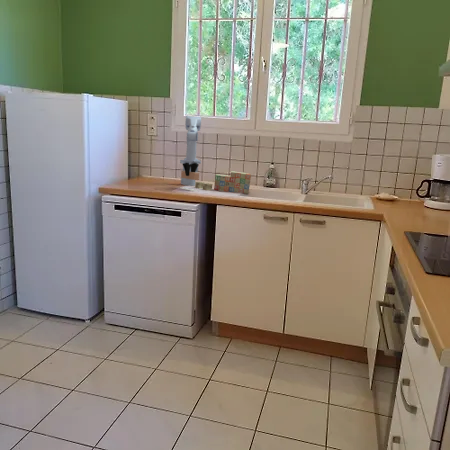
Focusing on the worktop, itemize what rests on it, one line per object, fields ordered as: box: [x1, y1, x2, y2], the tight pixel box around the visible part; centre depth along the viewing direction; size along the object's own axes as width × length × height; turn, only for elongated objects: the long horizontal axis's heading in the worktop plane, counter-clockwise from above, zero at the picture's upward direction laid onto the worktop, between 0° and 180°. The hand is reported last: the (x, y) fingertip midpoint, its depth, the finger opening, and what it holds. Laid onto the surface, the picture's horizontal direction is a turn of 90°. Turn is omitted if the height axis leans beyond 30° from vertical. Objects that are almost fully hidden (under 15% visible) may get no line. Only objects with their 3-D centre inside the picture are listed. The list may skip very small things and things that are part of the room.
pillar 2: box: [202, 182, 213, 191], centre depth 264 cm, size 4×4×4 cm
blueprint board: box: [180, 186, 204, 192], centre depth 264 cm, size 16×24×1 cm, turn 136°
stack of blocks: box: [213, 170, 252, 195], centre depth 264 cm, size 21×6×12 cm, turn 85°
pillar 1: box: [194, 181, 205, 189], centre depth 269 cm, size 4×4×4 cm
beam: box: [180, 170, 200, 181], centre depth 256 cm, size 12×4×4 cm, turn 46°
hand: (189, 175), depth 257 cm, fingers closed on beam, 3 cm apart
